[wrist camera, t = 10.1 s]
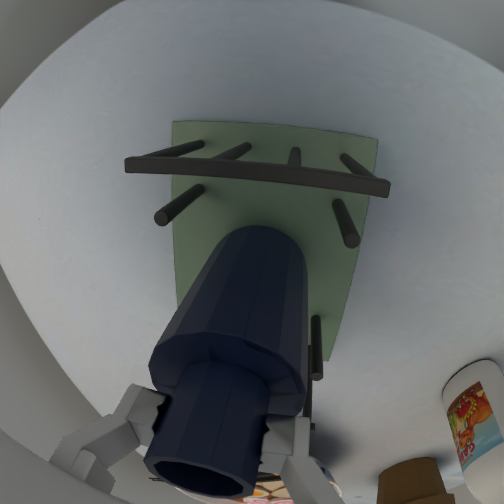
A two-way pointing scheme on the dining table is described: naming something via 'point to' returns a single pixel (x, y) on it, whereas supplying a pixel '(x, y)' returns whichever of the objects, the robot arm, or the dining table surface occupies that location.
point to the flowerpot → (413, 484)
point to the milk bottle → (479, 427)
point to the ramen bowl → (263, 490)
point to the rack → (271, 205)
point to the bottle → (231, 363)
